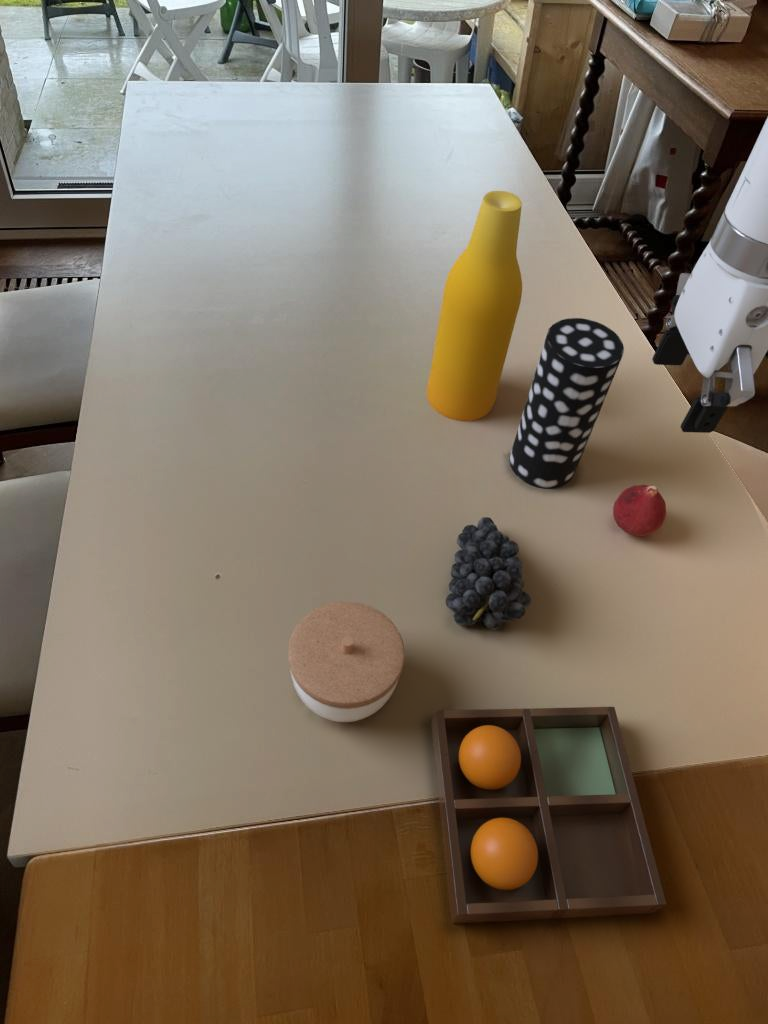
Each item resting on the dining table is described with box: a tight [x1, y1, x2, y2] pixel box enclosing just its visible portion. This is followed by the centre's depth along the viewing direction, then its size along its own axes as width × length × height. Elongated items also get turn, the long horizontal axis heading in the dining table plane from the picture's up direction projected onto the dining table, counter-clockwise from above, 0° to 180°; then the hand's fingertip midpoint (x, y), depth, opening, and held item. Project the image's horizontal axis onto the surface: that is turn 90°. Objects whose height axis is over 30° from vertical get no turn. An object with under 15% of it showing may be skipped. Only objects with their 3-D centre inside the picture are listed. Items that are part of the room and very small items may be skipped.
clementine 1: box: [459, 725, 521, 790], centre depth 71 cm, size 6×6×6 cm
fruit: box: [445, 516, 532, 631], centre depth 84 cm, size 9×8×15 cm
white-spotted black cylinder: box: [508, 317, 625, 490], centre depth 92 cm, size 8×8×20 cm
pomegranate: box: [612, 484, 667, 537], centre depth 91 cm, size 6×6×8 cm
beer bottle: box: [426, 190, 523, 422], centre depth 95 cm, size 9×9×29 cm
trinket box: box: [287, 600, 406, 723], centre depth 74 cm, size 11×11×9 cm
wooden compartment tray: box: [430, 706, 667, 925], centre depth 70 cm, size 17×17×4 cm
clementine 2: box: [471, 818, 538, 890], centre depth 66 cm, size 6×6×6 cm
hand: (680, 395), depth 78 cm, fingers open, 9 cm apart
